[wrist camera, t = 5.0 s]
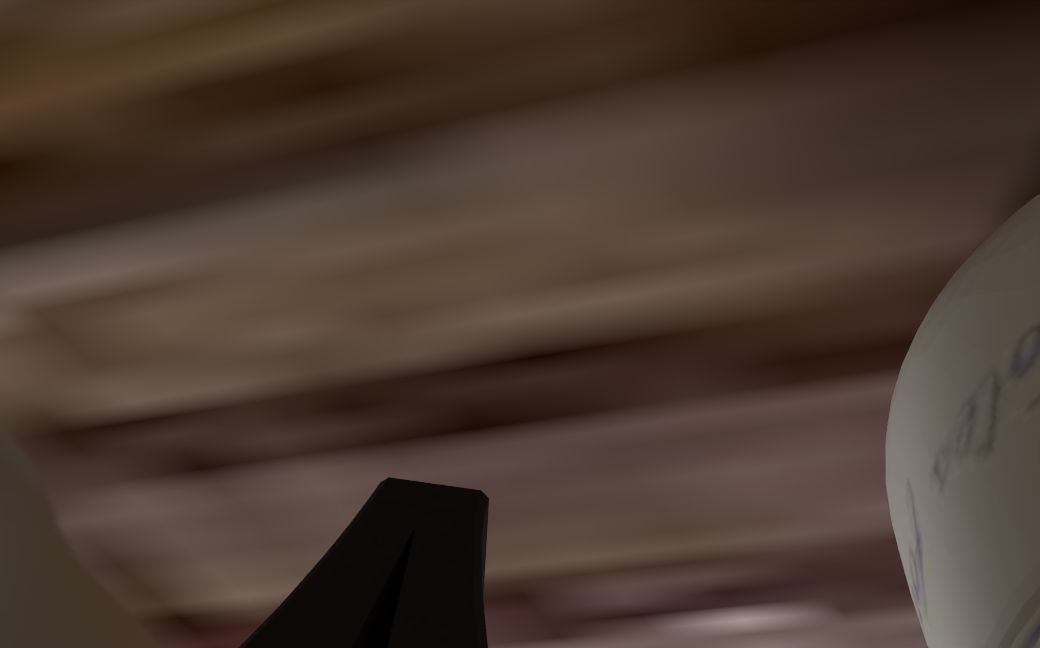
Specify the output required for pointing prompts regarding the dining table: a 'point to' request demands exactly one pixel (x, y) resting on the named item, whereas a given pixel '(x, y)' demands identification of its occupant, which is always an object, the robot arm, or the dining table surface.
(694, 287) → the dining table surface
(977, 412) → the teacup
